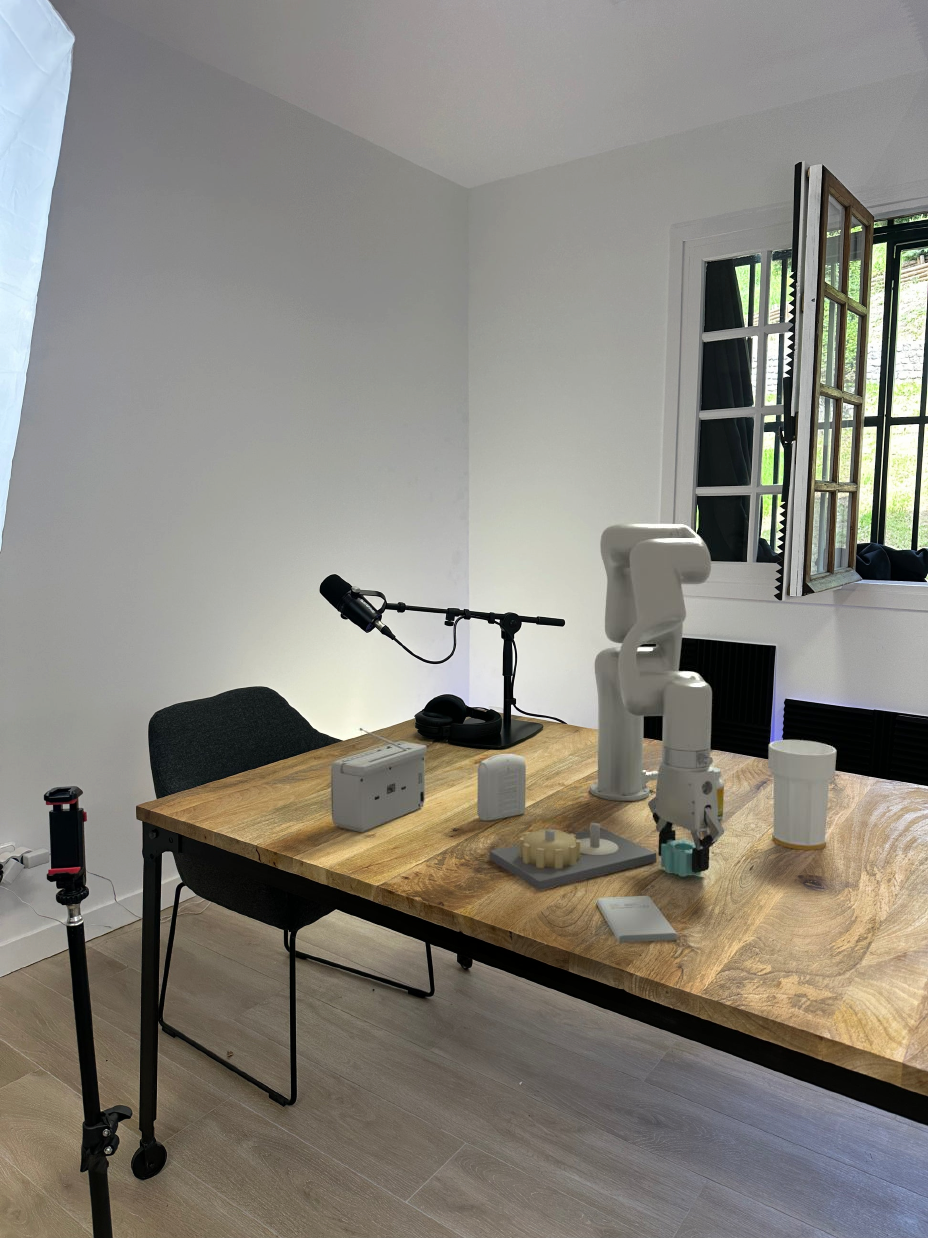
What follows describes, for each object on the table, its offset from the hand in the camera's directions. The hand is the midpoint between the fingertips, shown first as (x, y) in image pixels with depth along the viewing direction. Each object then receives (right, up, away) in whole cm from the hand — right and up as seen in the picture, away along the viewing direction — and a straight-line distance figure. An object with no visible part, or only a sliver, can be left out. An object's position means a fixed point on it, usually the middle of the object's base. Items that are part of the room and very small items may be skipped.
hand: (683, 861), depth 139 cm
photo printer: (-28, 0, +30) cm, 41 cm away
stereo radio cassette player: (-52, 0, +29) cm, 60 cm away
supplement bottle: (+12, +1, +29) cm, 31 cm away
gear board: (-17, -1, +6) cm, 18 cm away
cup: (+25, -1, +15) cm, 29 cm away
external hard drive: (-11, -4, -17) cm, 21 cm away
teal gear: (0, -1, 0) cm, 1 cm away
